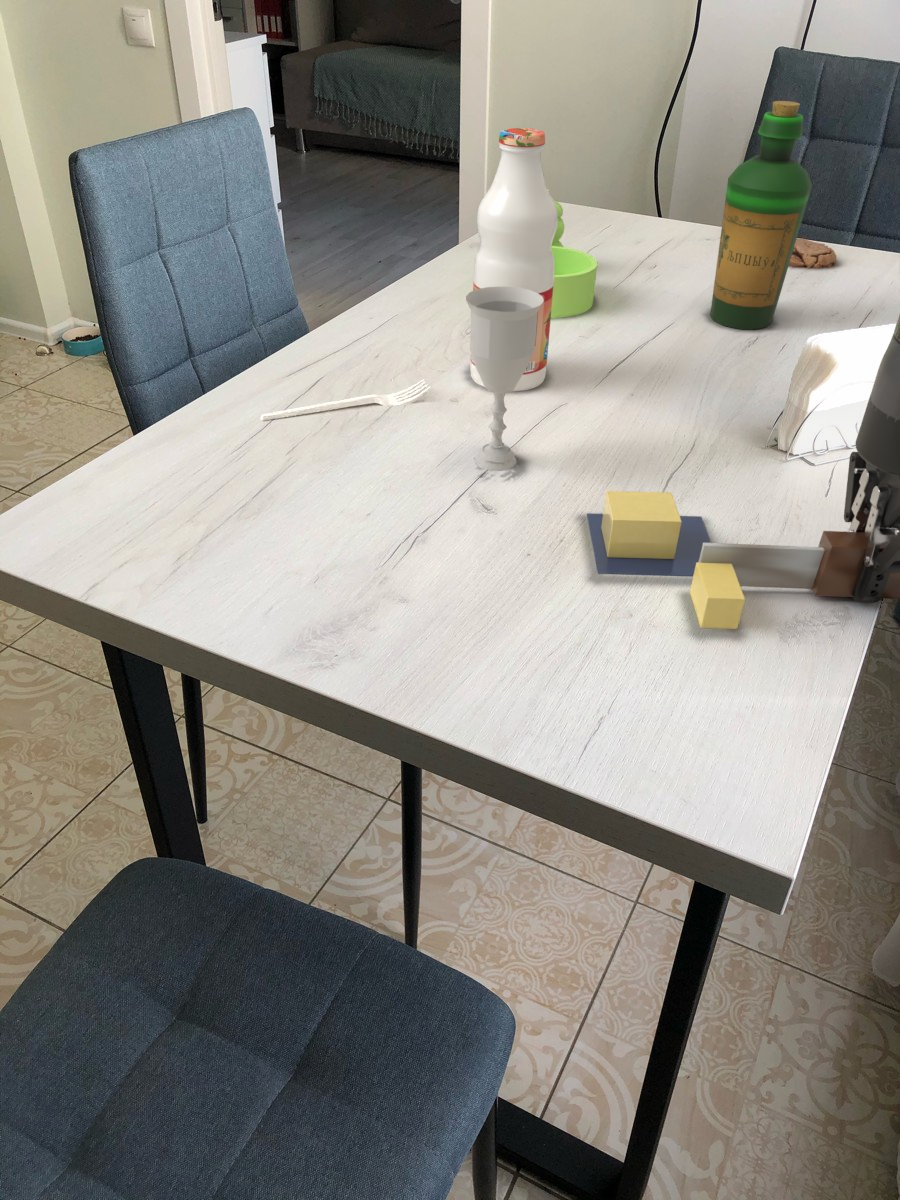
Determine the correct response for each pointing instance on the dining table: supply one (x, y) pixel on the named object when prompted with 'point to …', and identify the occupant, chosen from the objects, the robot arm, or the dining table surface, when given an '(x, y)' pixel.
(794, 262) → the cookie
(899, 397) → the robot arm
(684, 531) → the butter dish
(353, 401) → the fork
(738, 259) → the bottle
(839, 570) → the knife
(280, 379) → the dining table surface
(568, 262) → the food container
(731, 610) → the butter slice
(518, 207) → the fruit juice
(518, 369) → the chalice
